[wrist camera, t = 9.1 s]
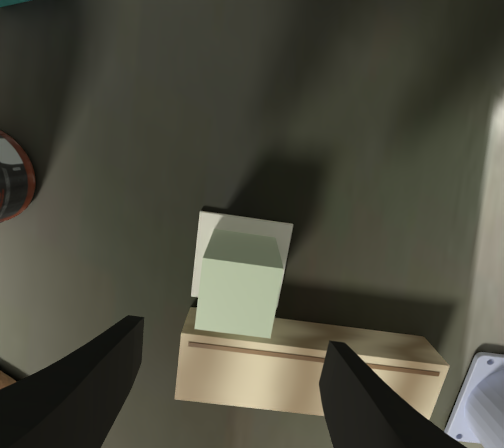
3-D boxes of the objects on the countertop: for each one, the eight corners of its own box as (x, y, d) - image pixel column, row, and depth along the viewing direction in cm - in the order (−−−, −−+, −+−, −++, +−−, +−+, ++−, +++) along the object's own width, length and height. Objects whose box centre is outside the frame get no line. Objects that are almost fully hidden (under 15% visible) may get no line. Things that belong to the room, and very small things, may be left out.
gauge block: (275, 237, 20) (283, 268, 15) (265, 292, 21) (270, 338, 16) (214, 228, 20) (202, 257, 15) (207, 284, 21) (194, 329, 16)
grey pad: (292, 223, 20) (293, 224, 20) (277, 305, 22) (277, 307, 21) (200, 210, 20) (199, 211, 19) (191, 294, 21) (190, 296, 21)
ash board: (423, 336, 22) (450, 366, 19) (404, 392, 24) (426, 427, 21) (190, 307, 22) (181, 333, 19) (184, 366, 23) (174, 399, 20)
